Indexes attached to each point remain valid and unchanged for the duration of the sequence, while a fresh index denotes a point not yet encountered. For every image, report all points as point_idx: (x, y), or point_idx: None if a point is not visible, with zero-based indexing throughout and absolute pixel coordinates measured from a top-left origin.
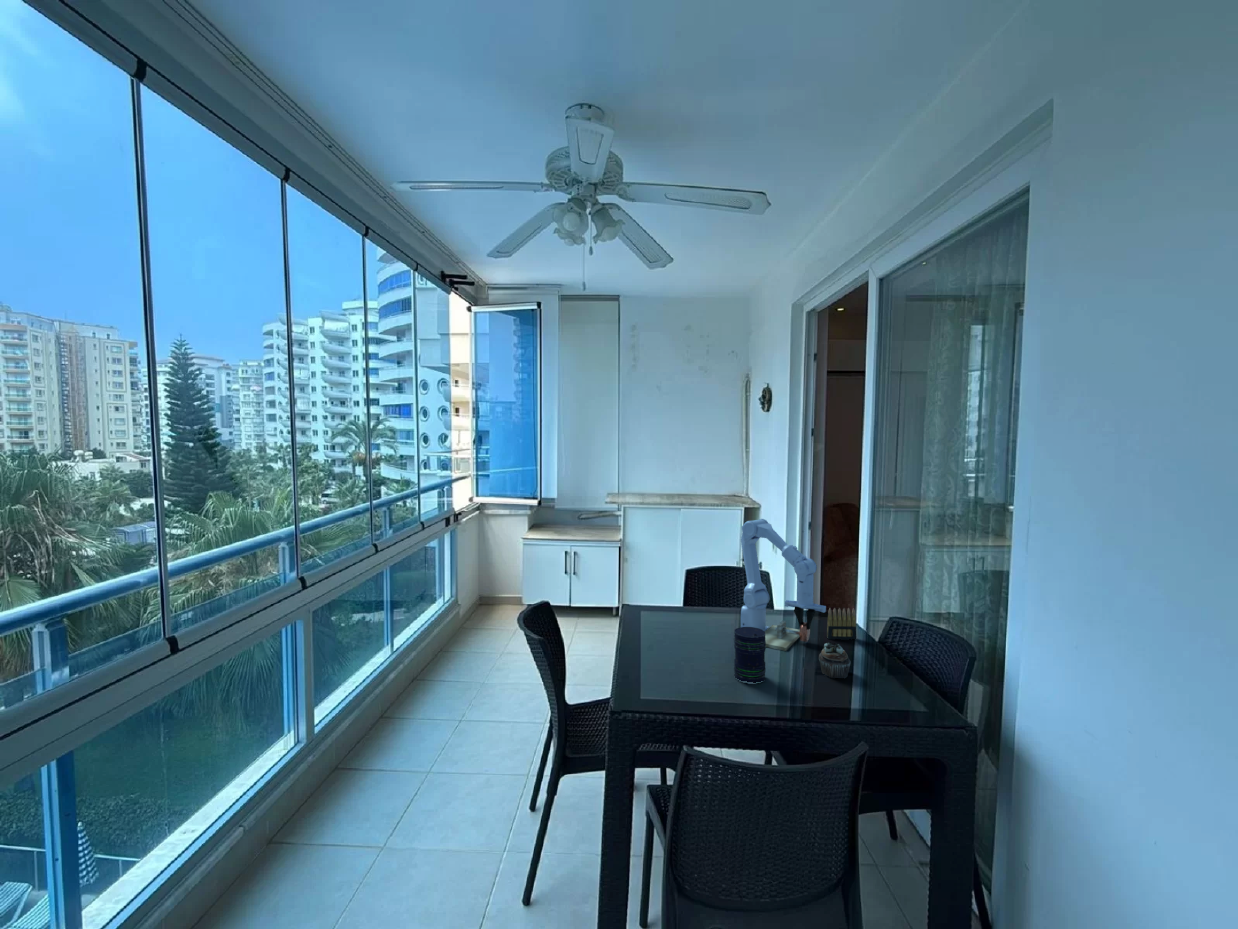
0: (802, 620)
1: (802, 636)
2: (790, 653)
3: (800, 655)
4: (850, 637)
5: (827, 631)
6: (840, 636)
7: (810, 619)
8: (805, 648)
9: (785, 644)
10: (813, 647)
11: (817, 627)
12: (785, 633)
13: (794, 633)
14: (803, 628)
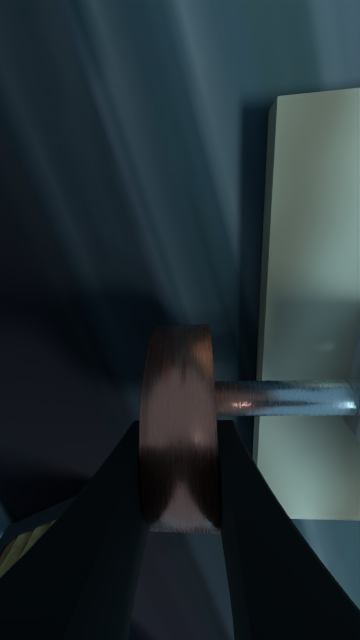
0: (225, 548)
1: (180, 327)
2: (218, 78)
3: (130, 90)
4: (18, 531)
5: None
6: (52, 520)
7: (16, 562)
8: (155, 280)
9: (302, 191)
10: (120, 329)
11: (208, 584)
12: (348, 415)
13: (274, 383)
14: (169, 387)
